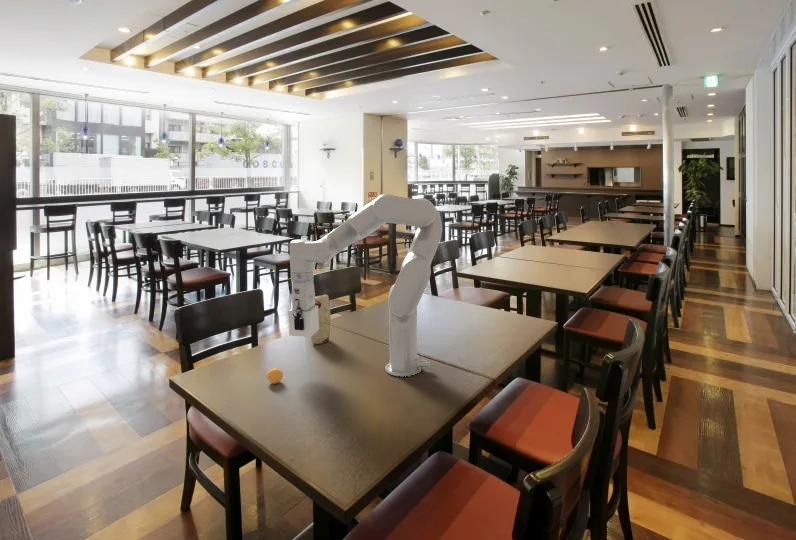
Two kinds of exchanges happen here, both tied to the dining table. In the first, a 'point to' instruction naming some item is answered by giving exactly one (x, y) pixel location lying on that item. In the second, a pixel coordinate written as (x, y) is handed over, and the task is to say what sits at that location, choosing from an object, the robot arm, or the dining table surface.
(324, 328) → the food model
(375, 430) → the dining table surface
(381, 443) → the dining table surface
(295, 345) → the dining table surface
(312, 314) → the off-white matte cube
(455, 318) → the dining table surface
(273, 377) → the ball
